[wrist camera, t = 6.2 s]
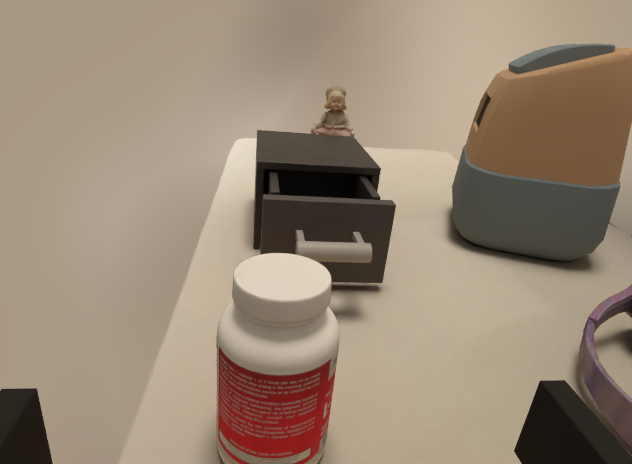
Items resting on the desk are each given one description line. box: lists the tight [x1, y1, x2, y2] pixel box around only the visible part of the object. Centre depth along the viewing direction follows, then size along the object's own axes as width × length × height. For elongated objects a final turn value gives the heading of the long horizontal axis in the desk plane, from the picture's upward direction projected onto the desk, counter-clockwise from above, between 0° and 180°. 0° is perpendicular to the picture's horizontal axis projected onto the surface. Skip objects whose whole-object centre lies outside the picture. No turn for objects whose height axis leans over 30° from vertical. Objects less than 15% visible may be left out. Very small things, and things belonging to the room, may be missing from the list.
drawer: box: [260, 169, 396, 283], centre depth 43 cm, size 18×11×8 cm, turn 7°
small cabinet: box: [253, 130, 381, 248], centre depth 53 cm, size 15×13×10 cm
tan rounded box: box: [452, 44, 632, 261], centre depth 54 cm, size 17×17×23 cm
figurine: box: [311, 85, 354, 137], centre depth 73 cm, size 11×10×15 cm
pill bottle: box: [217, 253, 340, 464], centre depth 23 cm, size 6×6×11 cm
